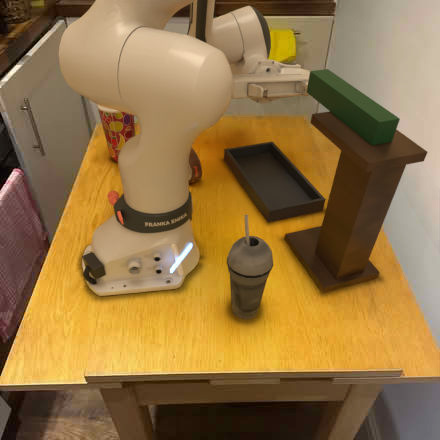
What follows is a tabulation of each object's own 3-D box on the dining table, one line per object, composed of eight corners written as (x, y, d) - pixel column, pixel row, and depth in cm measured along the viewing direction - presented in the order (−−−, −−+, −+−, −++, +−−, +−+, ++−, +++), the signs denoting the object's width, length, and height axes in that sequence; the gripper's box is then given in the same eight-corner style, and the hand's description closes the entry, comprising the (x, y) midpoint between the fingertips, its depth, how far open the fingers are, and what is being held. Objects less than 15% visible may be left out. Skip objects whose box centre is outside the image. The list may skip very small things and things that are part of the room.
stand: (322, 293, 75) (362, 164, 55) (284, 239, 85) (306, 114, 65) (377, 278, 78) (433, 150, 58) (334, 228, 88) (369, 105, 68)
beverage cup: (262, 329, 69) (277, 236, 54) (220, 321, 69) (224, 228, 55) (268, 297, 73) (283, 205, 59) (228, 291, 74) (233, 198, 60)
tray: (268, 222, 88) (269, 210, 86) (223, 160, 106) (224, 149, 103) (323, 210, 92) (325, 199, 89) (271, 152, 109) (272, 141, 107)
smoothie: (108, 149, 108) (93, 68, 93) (140, 148, 109) (130, 67, 94) (106, 166, 102) (89, 82, 88) (139, 165, 103) (128, 81, 88)
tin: (203, 186, 97) (203, 153, 91) (192, 190, 96) (191, 157, 90) (172, 158, 106) (169, 126, 99) (161, 161, 104) (158, 130, 98)
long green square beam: (371, 145, 59) (379, 121, 56) (306, 92, 72) (309, 70, 69) (392, 142, 60) (400, 118, 57) (323, 90, 72) (327, 68, 70)
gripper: (217, 66, 88) (237, 76, 77) (304, 63, 92) (334, 72, 81) (217, 98, 91) (236, 111, 80) (301, 94, 96) (329, 106, 85)
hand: (286, 92), depth 81 cm, fingers open, 8 cm apart
